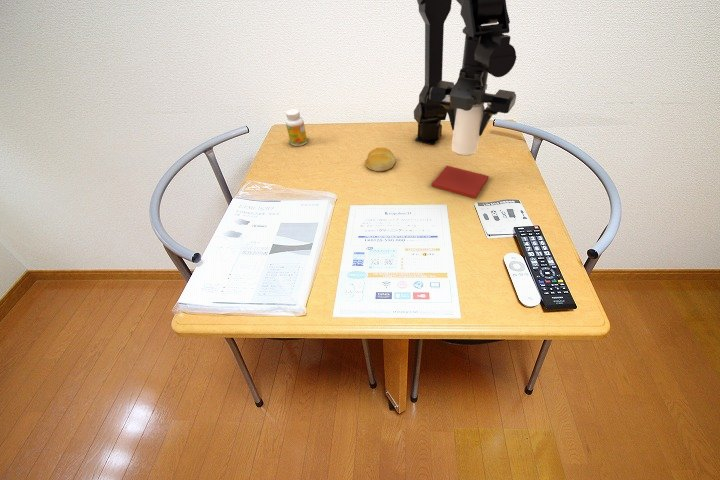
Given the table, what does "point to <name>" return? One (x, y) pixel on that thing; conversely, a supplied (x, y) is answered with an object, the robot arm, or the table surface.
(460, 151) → the can
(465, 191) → the pad
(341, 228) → the table surface
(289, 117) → the supplement bottle
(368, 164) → the bread roll
